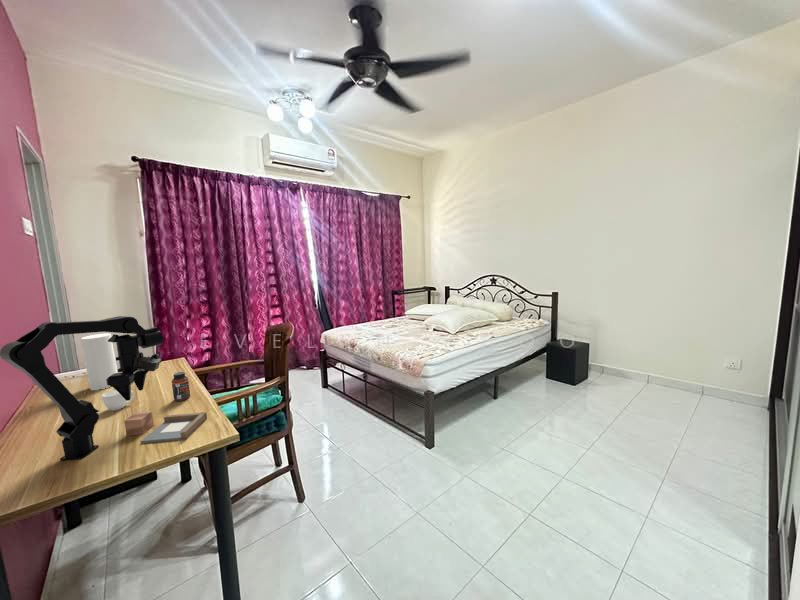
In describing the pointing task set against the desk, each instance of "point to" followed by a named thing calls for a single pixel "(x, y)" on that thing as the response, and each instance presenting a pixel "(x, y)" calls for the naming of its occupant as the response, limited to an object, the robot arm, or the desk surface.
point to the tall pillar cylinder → (99, 360)
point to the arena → (176, 427)
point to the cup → (115, 400)
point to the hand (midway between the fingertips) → (134, 395)
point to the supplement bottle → (180, 387)
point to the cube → (139, 423)
